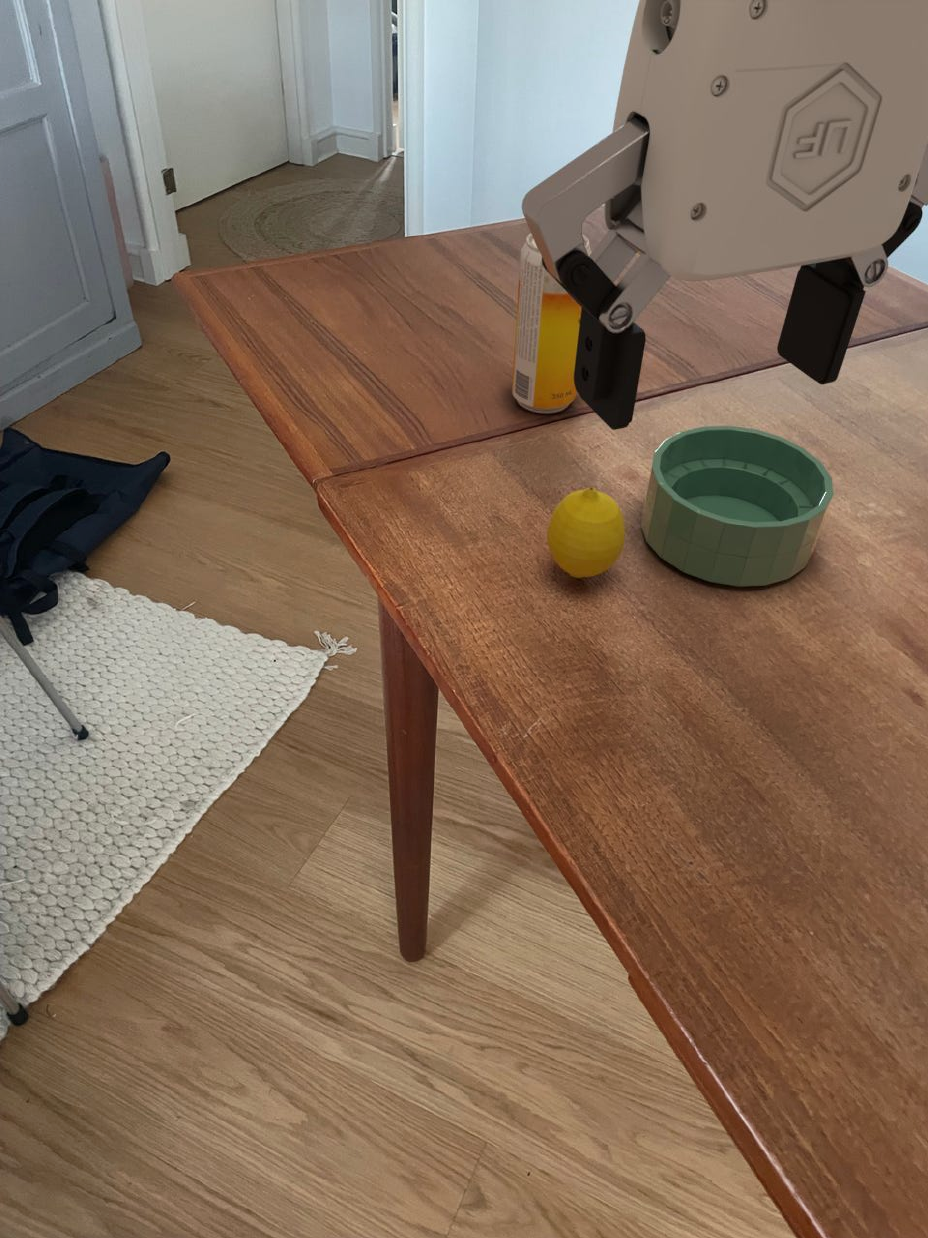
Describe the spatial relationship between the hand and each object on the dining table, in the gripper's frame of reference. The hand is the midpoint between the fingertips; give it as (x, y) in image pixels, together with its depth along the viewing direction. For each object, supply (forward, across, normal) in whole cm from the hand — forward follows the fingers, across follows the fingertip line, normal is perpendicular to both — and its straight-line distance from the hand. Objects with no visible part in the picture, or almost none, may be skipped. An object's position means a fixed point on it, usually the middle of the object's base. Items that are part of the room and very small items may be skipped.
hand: (707, 389), depth 38 cm
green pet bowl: (+26, +20, +18) cm, 38 cm away
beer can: (+26, +16, +42) cm, 52 cm away
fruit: (+26, +7, +18) cm, 33 cm away
